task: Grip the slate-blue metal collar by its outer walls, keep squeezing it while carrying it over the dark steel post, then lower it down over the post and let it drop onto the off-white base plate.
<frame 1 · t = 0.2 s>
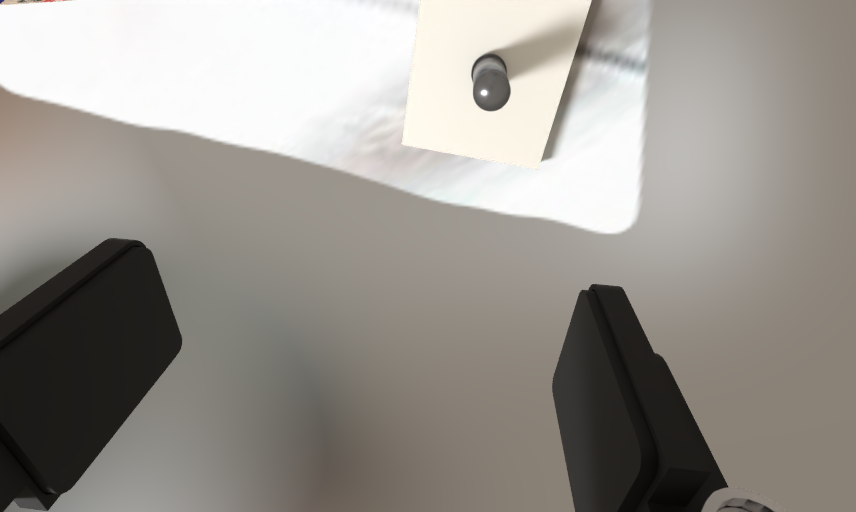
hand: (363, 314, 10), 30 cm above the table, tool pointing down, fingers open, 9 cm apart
steel post: (490, 81, 31), on the base plate, point 5 cm above the table
base plate: (488, 68, 35), on the table
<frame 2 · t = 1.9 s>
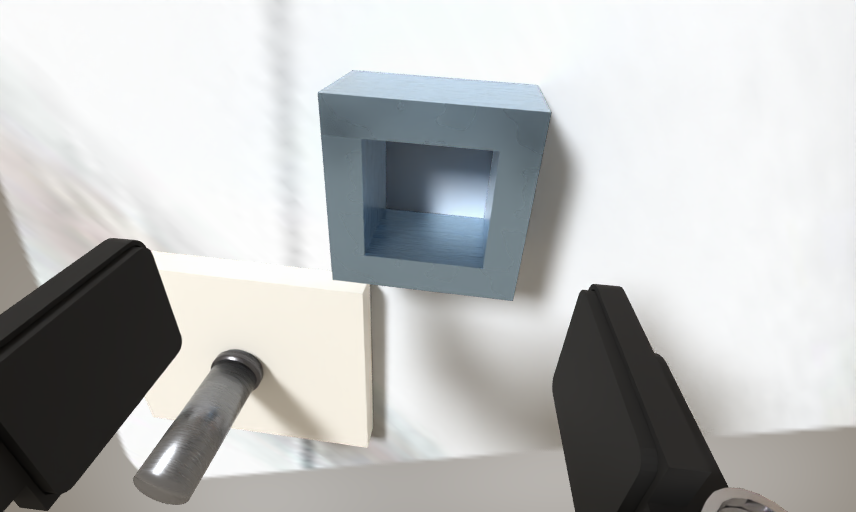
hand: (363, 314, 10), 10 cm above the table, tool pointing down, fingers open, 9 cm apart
steel post: (207, 418, 21), on the base plate, point 5 cm above the table
base plate: (254, 346, 25), on the table
collar: (437, 166, 18), on the table
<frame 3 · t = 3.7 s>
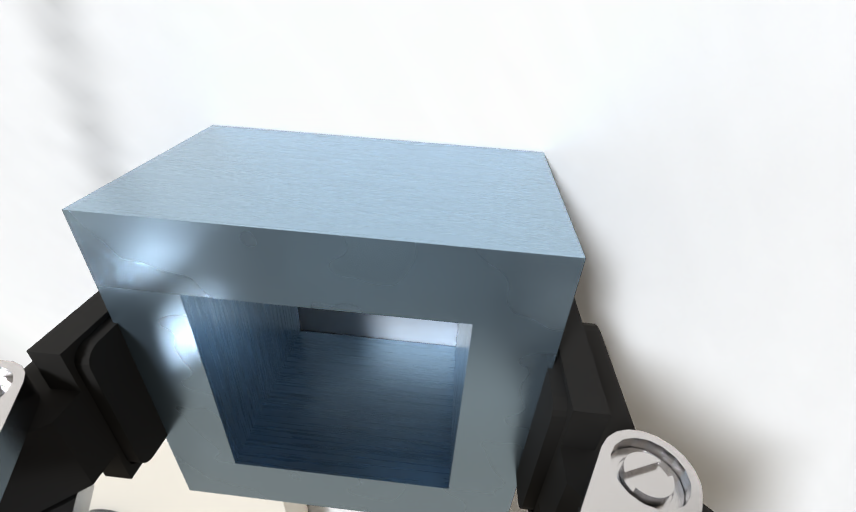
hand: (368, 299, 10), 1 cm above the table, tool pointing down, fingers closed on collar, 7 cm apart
base plate: (141, 487, 18), on the table
collar: (376, 274, 11), on the table, touching gripper
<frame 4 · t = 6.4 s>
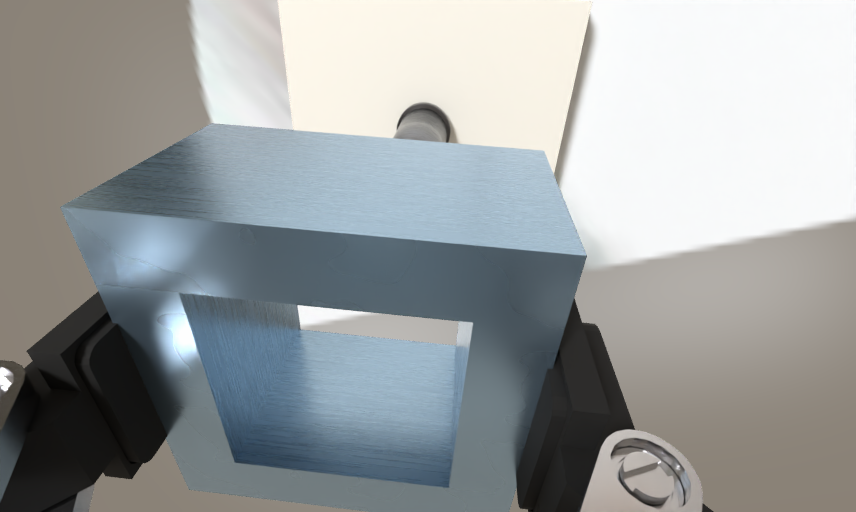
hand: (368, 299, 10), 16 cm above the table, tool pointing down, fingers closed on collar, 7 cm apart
steel post: (417, 150, 19), on the base plate, point 5 cm above the table
base plate: (427, 120, 23), on the table
collar: (376, 273, 11), point 15 cm above the table, touching gripper
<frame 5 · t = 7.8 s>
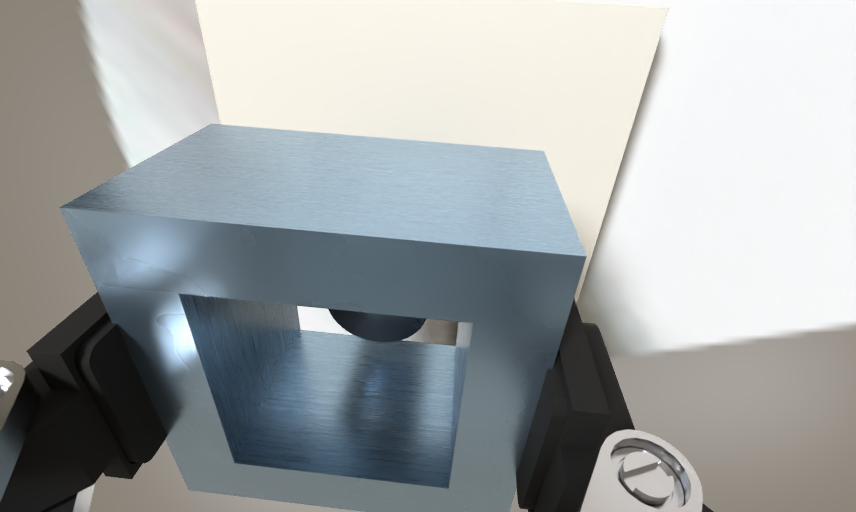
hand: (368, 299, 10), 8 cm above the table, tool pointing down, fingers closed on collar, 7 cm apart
steel post: (400, 229, 13), on the base plate, point 5 cm above the table
base plate: (419, 168, 17), on the table
collar: (376, 274, 11), point 7 cm above the table, touching gripper
when the fingers open (4 cm above the table, at t = 9.2 s): collar drops 1 cm, resting on base plate.
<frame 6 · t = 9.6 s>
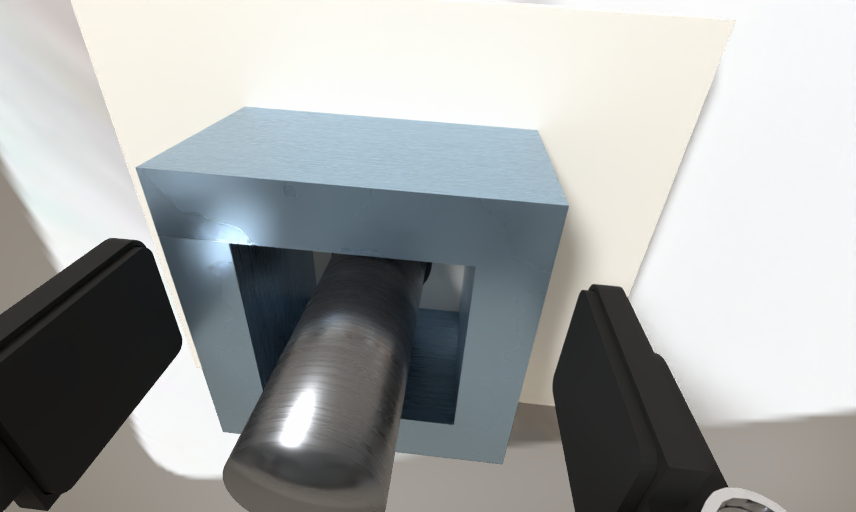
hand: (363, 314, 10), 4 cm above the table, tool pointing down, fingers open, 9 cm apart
steel post: (358, 329, 9), on the base plate, point 5 cm above the table
base plate: (394, 220, 13), on the table
collar: (388, 244, 12), point 1 cm above the table, touching base plate
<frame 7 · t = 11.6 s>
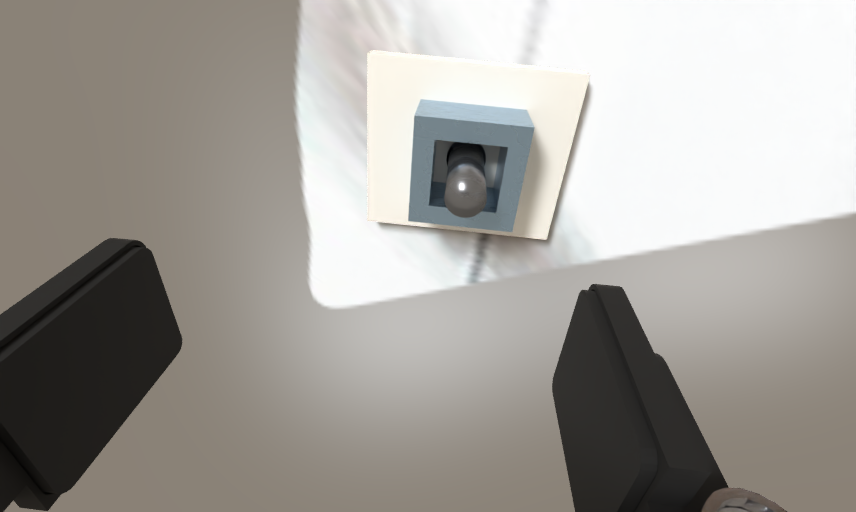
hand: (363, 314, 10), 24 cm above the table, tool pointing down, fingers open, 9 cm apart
steel post: (465, 175, 27), on the base plate, point 5 cm above the table
base plate: (466, 149, 32), on the table
collar: (466, 155, 30), point 1 cm above the table, touching base plate
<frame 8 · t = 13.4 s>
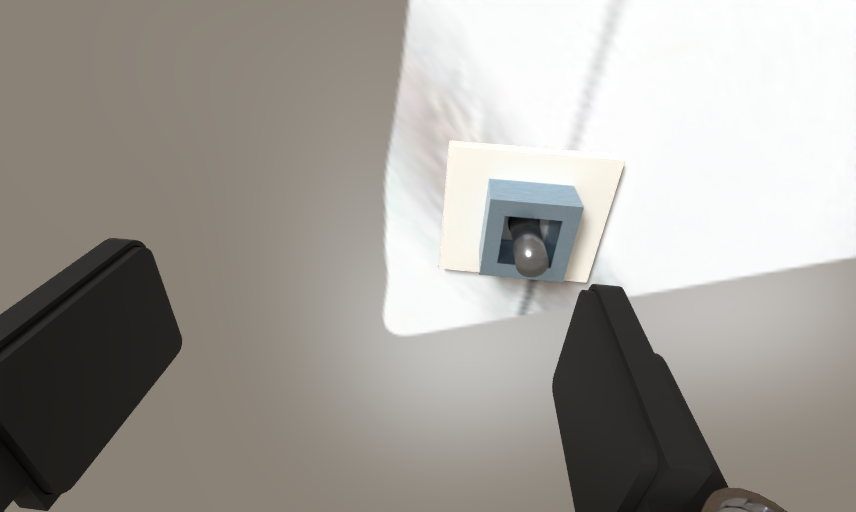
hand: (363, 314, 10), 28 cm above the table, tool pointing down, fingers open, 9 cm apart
steel post: (527, 240, 35), on the base plate, point 5 cm above the table
base plate: (521, 212, 39), on the table
collar: (523, 219, 38), point 1 cm above the table, touching base plate
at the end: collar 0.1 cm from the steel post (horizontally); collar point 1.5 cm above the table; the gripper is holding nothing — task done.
